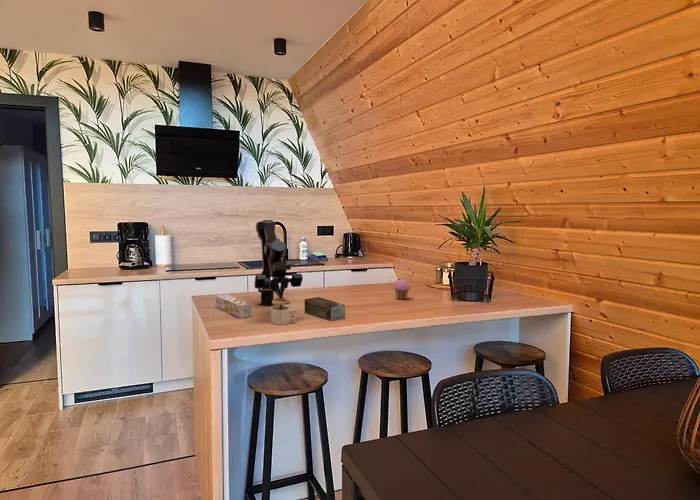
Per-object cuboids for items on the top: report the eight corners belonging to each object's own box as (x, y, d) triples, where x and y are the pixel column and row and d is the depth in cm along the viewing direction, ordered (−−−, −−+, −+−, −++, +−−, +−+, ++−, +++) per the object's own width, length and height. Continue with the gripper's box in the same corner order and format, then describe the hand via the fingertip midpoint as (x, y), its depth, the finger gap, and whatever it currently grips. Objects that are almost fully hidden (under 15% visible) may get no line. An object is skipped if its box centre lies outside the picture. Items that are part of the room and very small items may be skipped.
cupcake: (411, 300, 225) (411, 280, 224) (393, 300, 225) (394, 280, 224) (408, 297, 234) (409, 278, 233) (392, 297, 234) (392, 277, 233)
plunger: (277, 312, 183) (277, 296, 183) (293, 314, 181) (293, 297, 180) (268, 316, 177) (268, 299, 176) (284, 318, 174) (285, 300, 174)
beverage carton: (330, 321, 182) (330, 305, 181) (303, 313, 196) (303, 298, 196) (345, 319, 187) (346, 303, 186) (318, 310, 202) (318, 295, 201)
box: (215, 306, 206) (215, 294, 205) (227, 305, 209) (226, 293, 208) (239, 319, 184) (239, 305, 183) (251, 317, 187) (251, 304, 186)
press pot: (268, 324, 176) (268, 309, 175) (274, 319, 183) (274, 305, 183) (293, 325, 174) (293, 311, 174) (298, 320, 182) (298, 306, 181)
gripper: (255, 254, 178) (259, 286, 169) (301, 253, 184) (308, 285, 175) (252, 272, 186) (256, 303, 177) (297, 270, 192) (303, 301, 183)
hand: (281, 298), depth 178 cm, fingers closed, pressing on plunger
